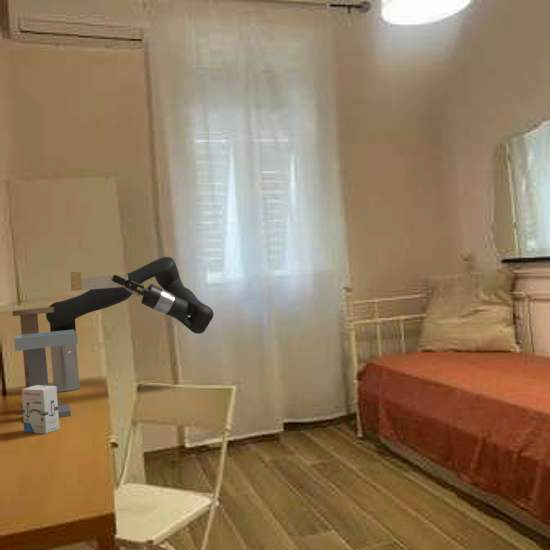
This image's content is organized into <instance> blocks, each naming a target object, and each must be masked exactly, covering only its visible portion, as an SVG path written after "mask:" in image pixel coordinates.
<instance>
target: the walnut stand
mask: <svg viewBox="0 0 550 550" xmlns="http://www.w3.org/2000/svg"><path fill="white" fill-rule="evenodd" d="M52 312H54V307H38V308H27V309H18V310H17V309H16V310H12V317H18V316H19V319H20V320H19V321H20V332H21V335H26V334H36V333H40V331H39V319H38V318H39V317H38V315H39V314H46V313H52ZM22 357H23V367H24V368H23V369H24V379H25V388H28V387H30V380H29V368H28V356H27V350H22ZM57 401H58V405H63V403H62V398H57ZM20 415H23V404H21V405H20Z"/></svg>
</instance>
